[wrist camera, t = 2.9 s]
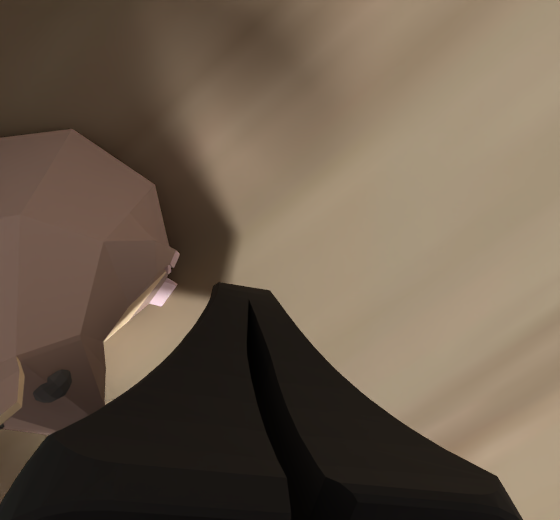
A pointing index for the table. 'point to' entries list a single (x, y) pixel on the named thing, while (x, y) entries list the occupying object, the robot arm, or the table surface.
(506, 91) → the table surface
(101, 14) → the table surface
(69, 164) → the mouse figurine
